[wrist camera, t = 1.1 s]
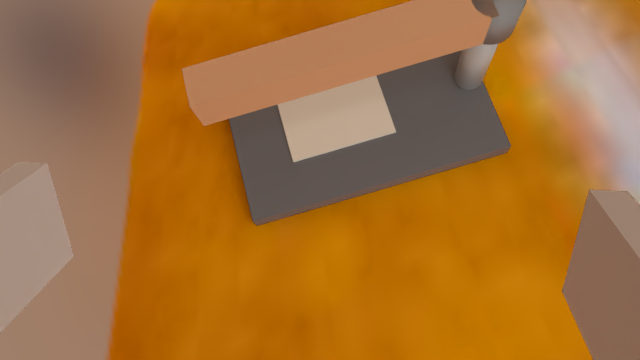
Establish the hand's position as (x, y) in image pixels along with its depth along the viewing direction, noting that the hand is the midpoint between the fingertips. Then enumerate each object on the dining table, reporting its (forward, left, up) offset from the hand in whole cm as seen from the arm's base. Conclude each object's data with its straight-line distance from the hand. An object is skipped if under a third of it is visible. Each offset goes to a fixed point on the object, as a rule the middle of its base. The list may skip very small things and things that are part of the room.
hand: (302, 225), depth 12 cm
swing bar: (-5, -16, -20) cm, 26 cm away
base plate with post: (-5, -16, -29) cm, 34 cm away
